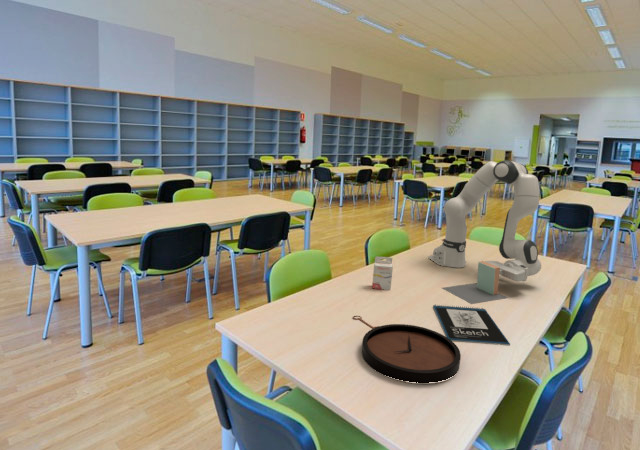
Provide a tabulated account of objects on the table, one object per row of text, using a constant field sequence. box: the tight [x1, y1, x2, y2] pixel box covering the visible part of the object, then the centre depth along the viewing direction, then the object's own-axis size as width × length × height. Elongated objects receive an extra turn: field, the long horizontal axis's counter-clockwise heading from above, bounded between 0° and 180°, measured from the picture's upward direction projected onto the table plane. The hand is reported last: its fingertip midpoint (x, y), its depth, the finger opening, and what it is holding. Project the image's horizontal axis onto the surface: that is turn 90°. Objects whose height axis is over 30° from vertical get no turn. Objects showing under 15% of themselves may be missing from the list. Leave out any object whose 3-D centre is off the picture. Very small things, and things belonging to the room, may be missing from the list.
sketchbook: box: [432, 304, 511, 346], centre depth 161 cm, size 22×30×2 cm
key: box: [352, 315, 380, 329], centre depth 158 cm, size 6×1×15 cm
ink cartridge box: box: [371, 255, 394, 291], centre depth 194 cm, size 9×5×15 cm, turn 84°
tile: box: [476, 260, 500, 295], centre depth 194 cm, size 10×3×13 cm, turn 24°
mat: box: [441, 282, 509, 305], centre depth 193 cm, size 20×22×1 cm
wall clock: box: [361, 323, 462, 383], centre depth 136 cm, size 31×4×31 cm
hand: (491, 271), depth 194 cm, fingers closed
